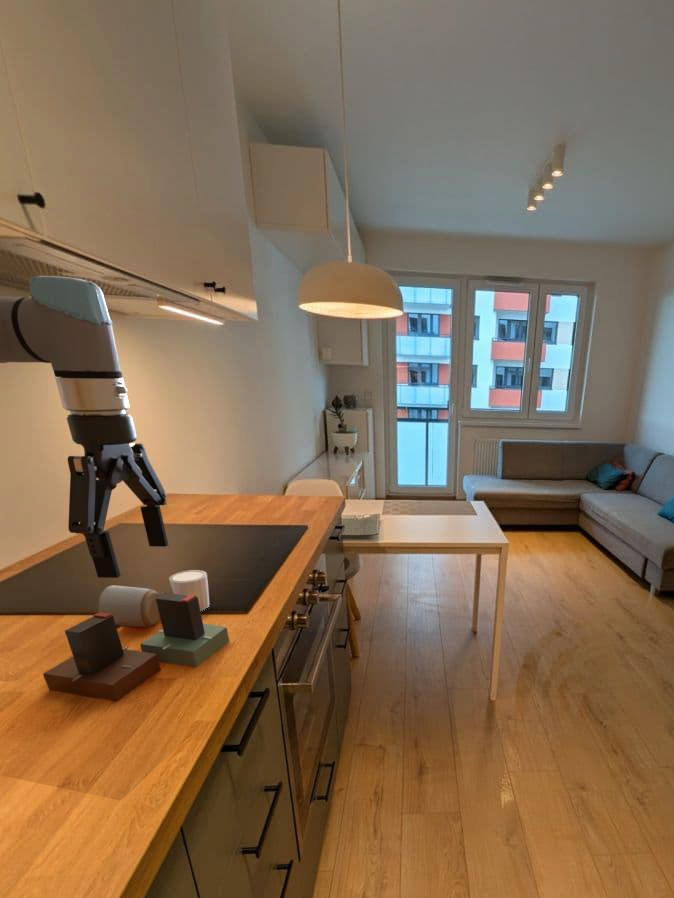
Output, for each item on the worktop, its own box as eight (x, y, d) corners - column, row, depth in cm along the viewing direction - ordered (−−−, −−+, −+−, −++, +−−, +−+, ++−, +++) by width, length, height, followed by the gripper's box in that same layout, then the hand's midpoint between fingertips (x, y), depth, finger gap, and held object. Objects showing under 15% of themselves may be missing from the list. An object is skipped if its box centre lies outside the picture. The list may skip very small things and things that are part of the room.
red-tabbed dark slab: (92, 674, 75) (78, 631, 72) (78, 672, 76) (63, 629, 73) (124, 654, 80) (112, 613, 77) (111, 652, 81) (99, 611, 78)
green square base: (140, 661, 84) (136, 644, 83) (182, 633, 93) (179, 617, 92) (194, 669, 83) (191, 652, 81) (232, 639, 92) (229, 624, 90)
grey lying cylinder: (149, 634, 93) (140, 595, 90) (103, 633, 92) (92, 594, 89) (175, 609, 102) (168, 574, 99) (134, 609, 102) (125, 573, 99)
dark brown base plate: (45, 692, 76) (38, 674, 75) (101, 658, 85) (96, 641, 84) (113, 704, 74) (108, 686, 72) (163, 667, 83) (159, 651, 81)
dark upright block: (164, 635, 86) (155, 597, 83) (174, 629, 88) (165, 591, 85) (195, 640, 85) (187, 601, 82) (205, 633, 87) (197, 595, 84)
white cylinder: (171, 606, 103) (164, 574, 100) (206, 597, 108) (200, 567, 105) (181, 618, 99) (174, 585, 96) (217, 608, 103) (211, 576, 100)
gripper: (64, 422, 57) (112, 593, 66) (172, 406, 80) (197, 535, 89) (-4, 420, 57) (53, 592, 66) (124, 405, 80) (154, 535, 89)
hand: (136, 560), depth 77 cm, fingers open, 13 cm apart
